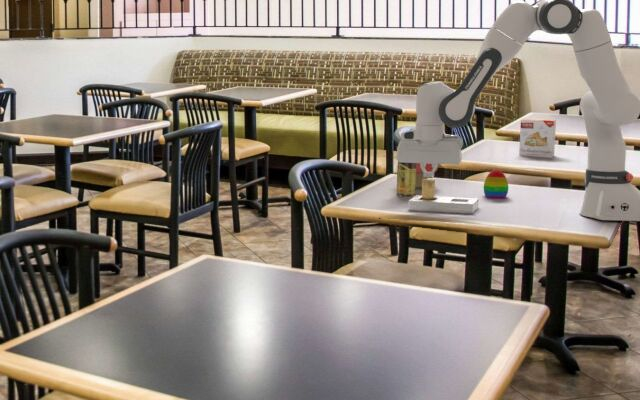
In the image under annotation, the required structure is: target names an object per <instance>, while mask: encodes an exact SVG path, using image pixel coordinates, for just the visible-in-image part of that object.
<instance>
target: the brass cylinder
mask: <svg viewBox="0 0 640 400" xmlns="http://www.w3.org/2000/svg"><path fill="white" fill-rule="evenodd" d="M435 186H436V179H434V178H427V179H423V180H422V188H421V195H422V200H434V196H436V195H435V194H436V193H435V189H436V187H435Z"/></svg>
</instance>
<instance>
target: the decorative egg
mask: <svg viewBox="0 0 640 400" xmlns="http://www.w3.org/2000/svg"><path fill="white" fill-rule="evenodd" d="M483 193H484V196H485V197H486V198H489V199H496V200H497V199H506V197H507V196H508V193H509V182H508V178H507V177H506V174H505V173H504V172H503V171H502V170H500V169H493V170H491V171H490V172H489V173H488V174H487V176H486V177H485V180H484V182H483Z"/></svg>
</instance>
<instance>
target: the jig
mask: <svg viewBox="0 0 640 400" xmlns="http://www.w3.org/2000/svg"><path fill="white" fill-rule="evenodd" d="M478 209H479V198H477V197H461V196H460V197H459V196H458V197H457V196H455V197H454V196H437V195H435V196H434V200H422V194H421V195H418V194H415V195H414V196H413V197H412V198H411V199H409V200H408V211H415V212H429V213H430V212H431V213H433V212H434V213H448V214H449V213H450V214H469V215H472V214H474V213H475V212H476V211H477V210H478Z"/></svg>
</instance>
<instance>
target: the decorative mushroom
mask: <svg viewBox="0 0 640 400" xmlns="http://www.w3.org/2000/svg"><path fill="white" fill-rule="evenodd" d="M433 168H434V167H432V164H426V166H425V169H426V171H427V172H431V171H432V169H433ZM437 171H438V167H437V168H436V170H435V171H434V173H435V172H437ZM423 175H424V172H423V171H422V169H421V167H420V163H416V180H415V189H422V180H423V179H428V178H424V177H423Z"/></svg>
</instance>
